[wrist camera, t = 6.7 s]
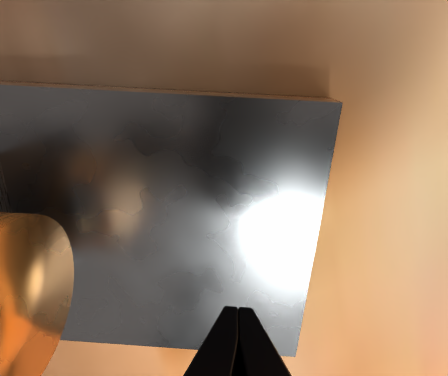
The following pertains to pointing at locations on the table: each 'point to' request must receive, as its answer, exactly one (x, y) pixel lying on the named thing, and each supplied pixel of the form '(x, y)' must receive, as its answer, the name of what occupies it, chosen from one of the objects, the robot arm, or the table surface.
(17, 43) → the table surface
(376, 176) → the table surface
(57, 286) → the shaft
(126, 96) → the bearing frame
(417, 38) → the table surface
